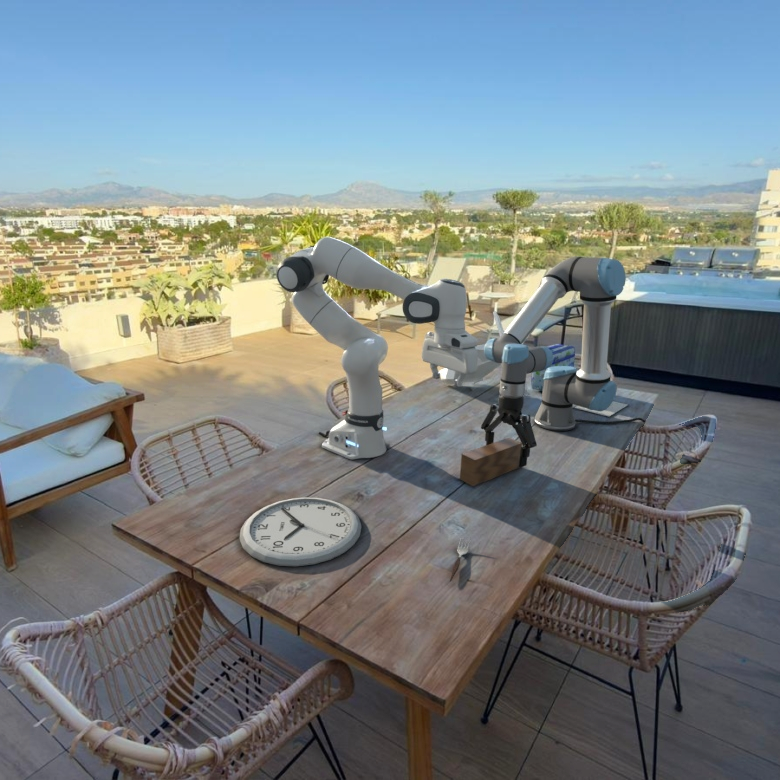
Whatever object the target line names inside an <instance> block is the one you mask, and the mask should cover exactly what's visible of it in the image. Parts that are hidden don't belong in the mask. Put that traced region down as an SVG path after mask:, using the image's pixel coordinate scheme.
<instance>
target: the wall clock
mask: <svg viewBox="0 0 780 780" xmlns="http://www.w3.org/2000/svg"><path fill="white" fill-rule="evenodd" d="M361 531H362V523H361V520H360V518H359V516H358V514H356V512H354V510H353V509H351V508H350V507H348V506H346V505H345V504H343V503H340V502H337V501H335V500H333V499H332V500H331V499H326V498H321V497H295V498H289V499H284V500H279V501H276V502H274V503H271V504H268V505H266V506H264V507H262V508H261V509H258V510H257V511H255V512H253V514H252V515H250V516H249V517H248V518H247V519H246V520H245V521H244V522H243V524H242V527H241V528H240V531H239V542H240V544H241V547H242V549H243V550H244V551H245V552H246V553H247V554H248V555H249V556H251V557H252V558H254V559H255V560H258V561H260V562H262V563H266V564H269V565H274V566H278V567H279V566H280V567H303V566H304V567H305V566H311V565H312V566H313V565H316V564H320V563H323V562H324V563H325V562H327V561H331V560H333V559H335V558H337V557H339V556H341V555H343V554H344V553H346V552H347V551H349V550H350V549H351V548H352V547H353V546H355V544H356V543H357V541H358V540H359V538H360V537H361Z"/></svg>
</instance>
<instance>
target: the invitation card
mask: <svg viewBox="0 0 780 780" xmlns="http://www.w3.org/2000/svg"><path fill="white" fill-rule="evenodd" d="M628 406H629V404H627V403H623V402H618V401H614V400H613V402H612V403H611V405H610V406H609V407H608V408H607V409H606V410H604V411H595V410H590V409H587V408H584V407H581V406H577V405H575V406H574V407H573V409H575V410H581V411H584V412H587V413H593V414H596V415H600V416H604V417H608V418H609V417H611V416H613V415H614V414H616V413H617V412H619V411H621V410H623V409H624V408H626V407H628Z"/></svg>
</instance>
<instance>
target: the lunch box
mask: <svg viewBox="0 0 780 780" xmlns="http://www.w3.org/2000/svg"><path fill="white" fill-rule="evenodd" d="M546 347H547V348H549V349H550V350H551V352H552V354H553V363H552V365H551V366H550V367H554V366H572V367H575V360H576V358H575V357H576V349H575V346H572V345H565V344H560V343H555V344H552V345H547V346H546ZM550 367H549V368H550ZM545 371H546V369H544V370H542V371H537V372H532V373H531V376H530V377H531V378H530V387H531V389H532V390H536V391H539V392H540V391H541V392H542V391H543V381H544V379H543V378H544V374H545Z"/></svg>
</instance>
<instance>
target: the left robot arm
mask: <svg viewBox="0 0 780 780" xmlns="http://www.w3.org/2000/svg"><path fill="white" fill-rule="evenodd" d="M275 271H276V272H275V275H276V279H277V282H278V285H280V287H281V288H282V289H283V290H285V291H287V292H289V293H293V294H292V297H291V302H292V305H293V307H294V308H295V310H296V311H297V312H298V313H299V315H300V316H301V317H302V318H303V319H304V320H305V322H306V323H308V324H309V325H310V326H311V327H312V328H313V329H314V330H315V332H317V334H319V335H320V336H321V337H322V338H323V339H324V340H326V341H327V342H328V343H330V344H332V345H335V346H337V347H338V348H340V349H342V350H343V353H342V355H341V358H340V362H341V363H340V365H341V367H342V369H343V371H344V372H345V377H346V380H347V381H346V382H347V385H348V409H346V410H345V411H342V417H344V419H343V420H341V421H340V422H338V423H336V425H334V426H333V427H332V428H331V429H328V430H326V431H325V433H323V432H321V431H319V432H318V435H321V436H322V437H324V438H326V437H328V438H326V439H325V440H323V441H322V443H321V448H322V449H325V450H326V451H329V452H331V453H334V454H336V455H339V456H341V457H343V458H345V459H348V460H358V459H371V458H376V457H380V456H382V455H384V454H385V453H386V452H387V446H386V443H385V442H386V441H385V437H384V431H387V430H388V429H387V428H388V427H386V426H384V410H383V387H382V385H381V382H380V381H381V380H380V374H379V368H380V365H381V364H382V363H383V362H384V361H385V360H386V358H387V355H388V350H389V346H388V342H387V340H386V338H384V336H382V335H380V334H378V333H376V332H374V331H373V330H371V329H369V327H367V326H365V325H364V324H363V323H361V322H360V321H358V320H357V319H355V318H353V316H351V315H350V314H349V313H348V312H347V311H346V310H345V309H344V308H343V307H341V305H340V304H338V303H337V302H336V300H334V298H332V297H331V296H330V295H329V294H328V293H327V291H325V289H324V286H323V285H325V284H327V283H328V281H329V278H330V277H331V278H332V279H334V280H336V281H338V282H340V283H341V284H343V285H345V286H346V287H347V286H348V287H350V288H353V289H356V290H380V291H384V292H387V293H389V294H392V295H393V296H395V297H397V298H399V299H401V300H403V301H402V313H403V315H404V317H405V318H406V319H407V320H408V322H410V323H412V324H417V325H422V324H428V323H434V331H428V332H427V333H425V334H424V340H423V343H422V349H421V360H422V362H425V363H428V364H429V367H430V370H431V372H432V379H435V380H439V379H441V376H440V372H439V369H438V367H441V368H443V369H444V368H447V369H450V370H453V371H457V372H458V375H459V377H458V379H457V380H455V384H453V385H454V387H455V386H456V387H457V388H459V387H460V388H461V387H462V386H463V383H462V380H463V379H464V378H465V376H466V375H468V374H473V373H475V372H476V370H477V364H478V352H477V349H476V348H475V346H478V344H479V340H478V338H477V337H475V336H473V335H472V334H471V333H470V332H468V331H467V330H466V323H465V316H466V314H467V303H468V302H467V299H468V298H467V290H466V286H465V285H464V283H462V282H461V281H458V280H455V279H450V278H441V279H439V280H438V281H437V282H435V283H433V284H431V285H425V284H421V283H417V282H416V281H413V280H411V279H409V278H408V277H406V276H404V275H401V274H400V273H397V272H395V271H393V270H391V269H390V268H388V267H387V266H385V265H383V264H382V263H380V262H379V261H377V260H376V259H374V258H373V257H371V256H369V254H367V253H365V252H364V251H362V250H361V249H360V248H357V247H355V246H353V245H351V244H349V243H347V242H345V241H343V240H340V239H337V238H335V237H331V236H324V237H321V238H319V239H318V241H317V242H316V243H315V245H311V246H308V247H306V248H302V249H300V250H298V251H296V252H295V253H293V254H292V255H290V256H288V257H285V258H283V260H282V261H280V262H279V264H278V265H277V268H276V270H275Z"/></svg>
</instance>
